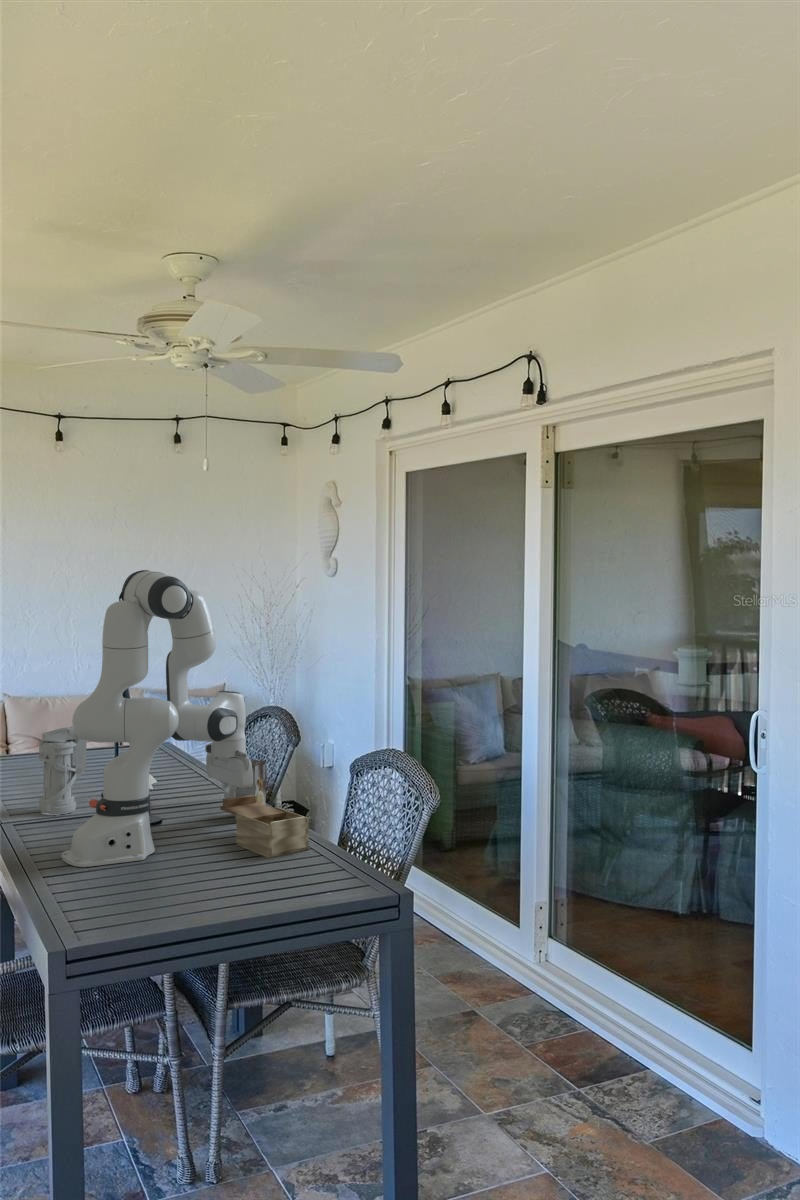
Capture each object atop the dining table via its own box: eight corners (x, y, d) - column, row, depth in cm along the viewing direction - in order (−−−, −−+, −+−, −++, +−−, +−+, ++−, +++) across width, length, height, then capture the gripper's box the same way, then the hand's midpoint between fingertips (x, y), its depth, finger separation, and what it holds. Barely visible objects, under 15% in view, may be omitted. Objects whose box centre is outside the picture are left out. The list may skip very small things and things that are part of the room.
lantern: (43, 817, 284) (43, 731, 283) (36, 810, 293) (36, 727, 292) (88, 812, 290) (88, 728, 290) (80, 805, 299) (80, 724, 299)
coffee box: (245, 813, 291) (245, 759, 291) (266, 814, 290) (266, 760, 289) (234, 820, 282) (234, 764, 282) (255, 821, 281) (255, 765, 280)
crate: (268, 857, 243) (268, 823, 243) (236, 844, 256) (236, 811, 256) (308, 849, 251) (308, 816, 251) (275, 837, 263) (276, 805, 263)
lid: (251, 821, 251) (251, 810, 251) (220, 809, 264) (220, 799, 264) (285, 815, 258) (285, 804, 258) (254, 804, 271) (254, 794, 271)
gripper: (258, 752, 265) (258, 803, 265) (222, 743, 280) (221, 791, 281) (238, 755, 261) (238, 807, 261) (202, 745, 277) (202, 794, 277)
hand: (229, 798), depth 271 cm, fingers closed
